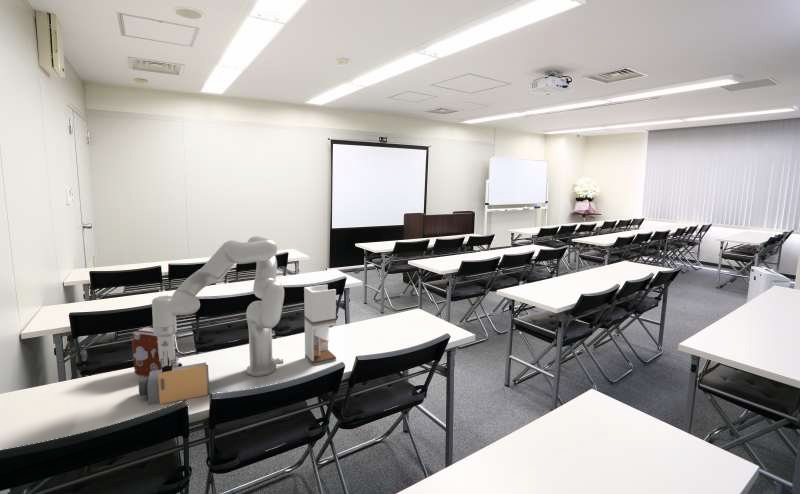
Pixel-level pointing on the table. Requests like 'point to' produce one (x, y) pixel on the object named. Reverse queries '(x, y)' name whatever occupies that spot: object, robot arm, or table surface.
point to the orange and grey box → (156, 384)
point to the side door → (183, 383)
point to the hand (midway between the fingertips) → (167, 375)
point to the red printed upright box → (147, 352)
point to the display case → (319, 323)
